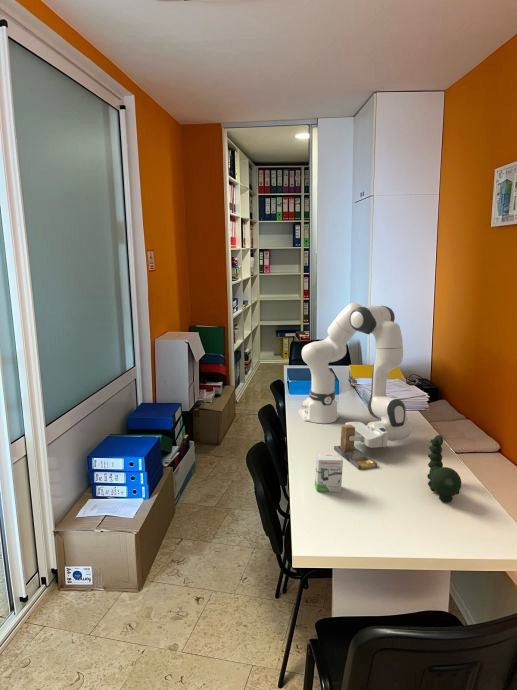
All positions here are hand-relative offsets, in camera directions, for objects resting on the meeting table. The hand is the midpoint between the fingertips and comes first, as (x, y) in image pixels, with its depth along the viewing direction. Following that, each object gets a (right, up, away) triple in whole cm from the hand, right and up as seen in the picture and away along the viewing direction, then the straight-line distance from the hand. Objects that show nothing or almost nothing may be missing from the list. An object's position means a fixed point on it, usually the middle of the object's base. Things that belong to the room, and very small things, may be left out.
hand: (345, 435), depth 203 cm
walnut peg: (+1, -6, +1) cm, 6 cm away
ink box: (-11, -13, -30) cm, 34 cm away
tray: (+3, -8, -4) cm, 10 cm away
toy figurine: (+27, -14, -31) cm, 43 cm away
